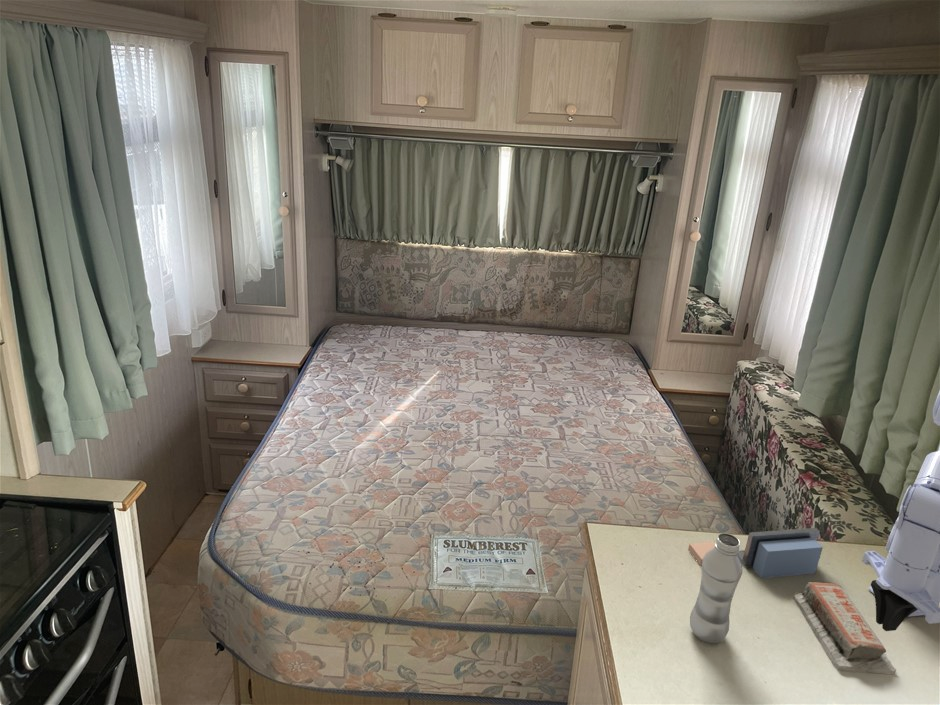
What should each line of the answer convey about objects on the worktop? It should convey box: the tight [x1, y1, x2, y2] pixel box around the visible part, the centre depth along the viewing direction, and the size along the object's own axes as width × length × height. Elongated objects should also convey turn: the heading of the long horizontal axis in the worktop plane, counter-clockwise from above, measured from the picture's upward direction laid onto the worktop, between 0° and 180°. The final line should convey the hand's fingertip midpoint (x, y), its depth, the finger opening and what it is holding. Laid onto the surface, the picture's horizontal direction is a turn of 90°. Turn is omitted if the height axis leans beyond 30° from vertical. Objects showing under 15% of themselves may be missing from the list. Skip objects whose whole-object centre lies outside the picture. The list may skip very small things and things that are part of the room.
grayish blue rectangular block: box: [752, 538, 824, 579], centre depth 137 cm, size 12×3×6 cm, turn 101°
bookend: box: [737, 527, 821, 568], centre depth 140 cm, size 15×4×8 cm, turn 101°
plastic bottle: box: [689, 532, 743, 644], centre depth 117 cm, size 6×7×20 cm
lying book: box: [687, 540, 716, 567], centre depth 141 cm, size 8×5×2 cm, turn 102°
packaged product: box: [792, 581, 897, 675], centre depth 122 cm, size 18×5×10 cm
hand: (885, 625), depth 112 cm, fingers closed
